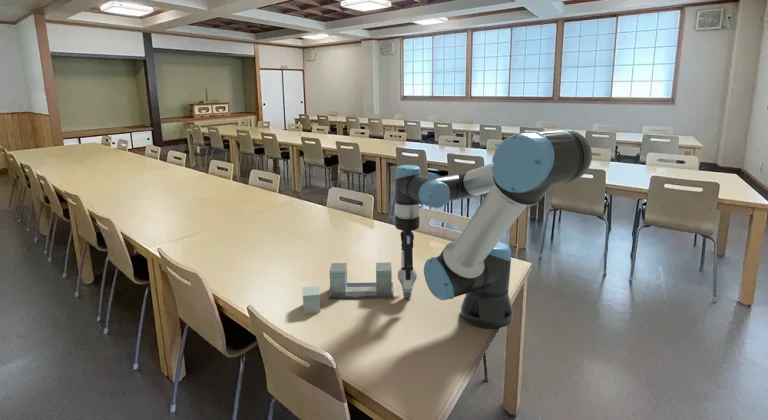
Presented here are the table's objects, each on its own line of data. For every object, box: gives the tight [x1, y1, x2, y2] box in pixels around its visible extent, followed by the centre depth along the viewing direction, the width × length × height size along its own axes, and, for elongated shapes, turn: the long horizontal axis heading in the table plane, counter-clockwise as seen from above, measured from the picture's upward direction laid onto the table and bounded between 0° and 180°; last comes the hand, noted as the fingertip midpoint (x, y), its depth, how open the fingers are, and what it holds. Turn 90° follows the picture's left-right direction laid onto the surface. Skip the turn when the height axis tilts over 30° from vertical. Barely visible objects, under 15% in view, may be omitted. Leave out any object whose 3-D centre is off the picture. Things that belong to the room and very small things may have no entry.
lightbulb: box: [397, 267, 418, 300], centre depth 143 cm, size 6×6×11 cm
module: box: [302, 285, 321, 314], centre depth 137 cm, size 6×5×6 cm
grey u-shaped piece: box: [328, 261, 394, 300], centre depth 148 cm, size 10×21×9 cm, turn 90°
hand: (406, 278), depth 143 cm, fingers open, 13 cm apart
